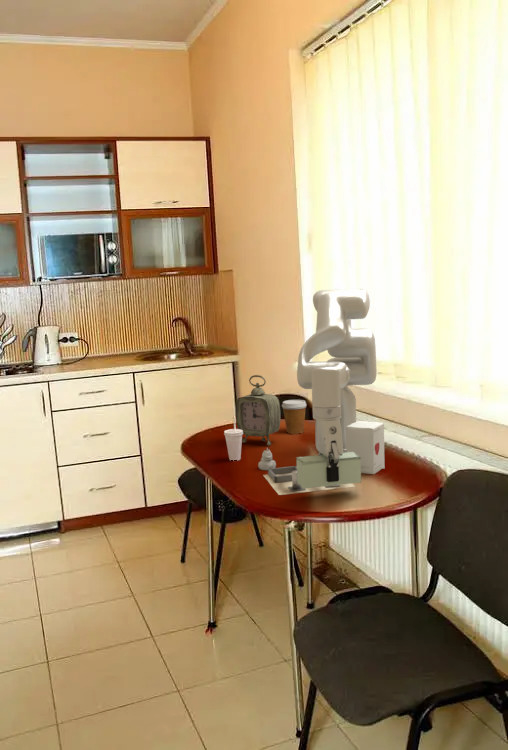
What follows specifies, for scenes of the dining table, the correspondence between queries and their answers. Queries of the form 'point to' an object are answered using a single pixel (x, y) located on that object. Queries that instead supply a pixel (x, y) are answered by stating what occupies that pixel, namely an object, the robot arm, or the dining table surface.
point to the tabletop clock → (258, 413)
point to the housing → (314, 470)
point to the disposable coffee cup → (294, 415)
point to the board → (286, 487)
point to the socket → (281, 470)
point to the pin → (295, 481)
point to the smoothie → (234, 442)
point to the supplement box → (367, 444)
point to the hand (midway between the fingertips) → (328, 477)
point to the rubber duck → (267, 461)
